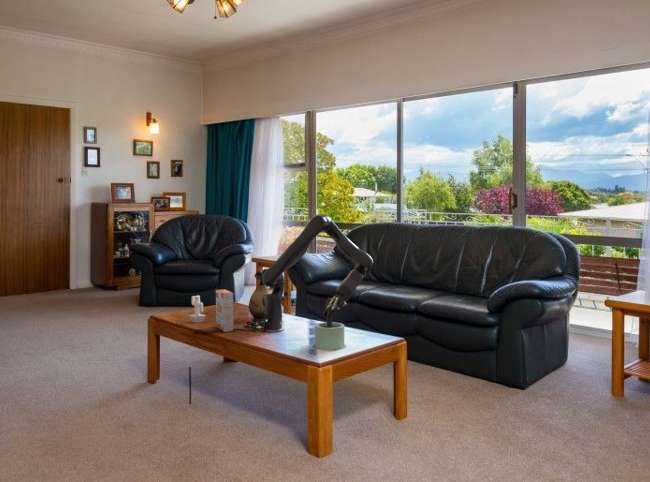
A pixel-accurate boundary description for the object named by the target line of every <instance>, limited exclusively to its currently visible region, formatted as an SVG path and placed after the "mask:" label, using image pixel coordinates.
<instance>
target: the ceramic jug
mask: <svg viewBox="0 0 650 482" xmlns="http://www.w3.org/2000/svg"><path fill="white" fill-rule="evenodd" d="M268 268H269V267H268ZM268 268H263V269H262V271H256V272H255V273H254V279H258V280H259V284H258V285H257V287H256V288H255V289H254V291H253V292H252V294H251V295H250V298H249V301H248V311H249V313H250V315H251V316H252V320H254V321H260V320H262V321H264V314H265V294H266V292H267V291H268V290H269V286H266V285H264V284H263V282H262V276H263V274H264V272H265V271H266V270H267V269H268Z"/></svg>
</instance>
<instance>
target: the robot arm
mask: <svg viewBox="0 0 650 482" xmlns="http://www.w3.org/2000/svg"><path fill="white" fill-rule="evenodd" d="M320 233H325V234H326V235H328V236H329V237H330V238H331V239H332V240H333V242H334V243H335V245H336V246H337V248H338V249H339V250H340V252H341V253H343V254H344V255H345V256H346V257H347V258H348V259H349V260H352V261H353V260H354V261H355V262H356V263H357V265H355V266H354V268H353V269H352V270H351V271H350V272H349V273H348V275H347V276H346V277H345V278H344V279H343V280H342V281H341V283H339V285H338V287H337V288H336V289H335V293H334V294H335V295H333V296H332V297H327V300H326V302H325V305H324V307H325V308H326V309H325V310H324V311H323V312H322V316H323V318H327V317H328V318H329V319H330V318H331V317H332V318H333V315H334V314H336V313H340V312H341V311H342V310H343V309H344V308H345V307H347V306H348V304H347V303H346V302H348V301H349V300H350V299H351V297H352V295H353V294H354V293H355V292H356V290H357V289H358V287H359V285H360V283H361V282H362V281H363V280H364V278H365V277H366V276H367V275H368V274H369V272H371V270H372V268H373V263H374V261H373V258H372V256H371V255H370V254H368V253H367V252H366V251H364V250H362V249H360V248H359V247H358V246H357V245H356V244H355V243H353V242H352V241H351V240H350V239H349V238H348V237H347V236H346V235H345V234H344V233H343V232H342V231H341V230H340V228H339V227H338V226H337V224H335V222H334V221H333V220H332V218H331V217H330V216H329V215H327V214H324V213H320V214H319V213H318V214H316V215H315V214H314V215H313V216H312V217H311V218H310V219H309V220H308V222H307V224H306V226H304V228H303V230H301V232H300V233H299V234H298V235H297V236H296V237H295V238H294V240H292V241H291V242H290V243H289V245H288V246H287V247H286V248H285V250H284V251H283V252H282V253H281V254H280V255H279V257H278V258H277V259H276V260H275V261H274V262H273V263H272V265H270V266H269V267H268V269H267V268H266V269H267V270H266V271H265V272H264V274H263V276H262V282H263V284H264V285H266V286H268V289H269V290H268V291H267V292H266V294H265V314H264V320H262V321H260V323H258V324H256V325H255V326H254V327H253V329H245V328H233V331H243V332H255V331H256V330H257V327H260V328H263V329H264V330H263V331H264V332H268V333H269V332H271V333H277V332H281V331H283V295H284V290H285V275H284V272H286V271H287V270H288V269H289V268H291V267H293V266H294V265H295V264H297V263H298V262H299V261H300V260H301V259H302V258H303V257H304V256H305V254H306V253H307V251H308V250H309V247H310V245H311V244H312V242H313V240H314V239H316V237H317V236H318V235H319V234H320ZM327 307H332V309H331V310H330V311H329V313H328V314H327ZM198 332H200V333H205V334H210V333H220V332H223V330H220V329H216V330H204V329H197V330H195V331H194V332H193V334H197V333H198ZM191 368H192V367H191V366H189V367H188V385H189V386H188V387H189V389H188V390H189V392H188V393H189V394H188V397H189V398H188V399H189V400H188V401H189V402H188V405H189V404H191V405H192V369H191Z"/></svg>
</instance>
